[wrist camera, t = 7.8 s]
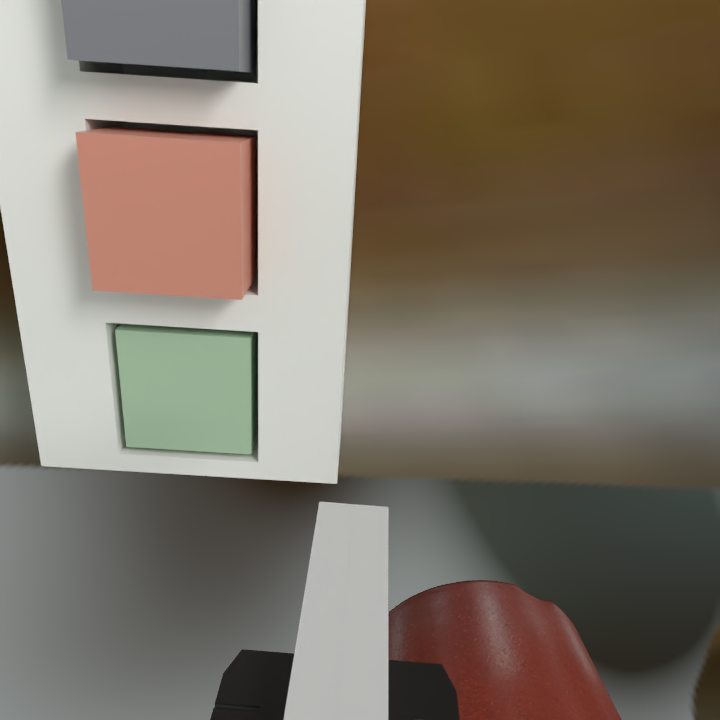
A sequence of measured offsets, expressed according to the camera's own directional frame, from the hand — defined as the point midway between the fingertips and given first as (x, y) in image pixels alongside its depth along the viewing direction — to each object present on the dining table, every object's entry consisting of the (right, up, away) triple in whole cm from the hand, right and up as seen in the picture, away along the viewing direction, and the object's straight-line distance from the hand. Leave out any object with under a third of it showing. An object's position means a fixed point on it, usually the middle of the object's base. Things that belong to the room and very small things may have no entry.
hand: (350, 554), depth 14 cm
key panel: (-6, +11, +12) cm, 17 cm away
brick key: (-6, +10, +9) cm, 15 cm away
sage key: (-6, +4, +13) cm, 15 cm away
